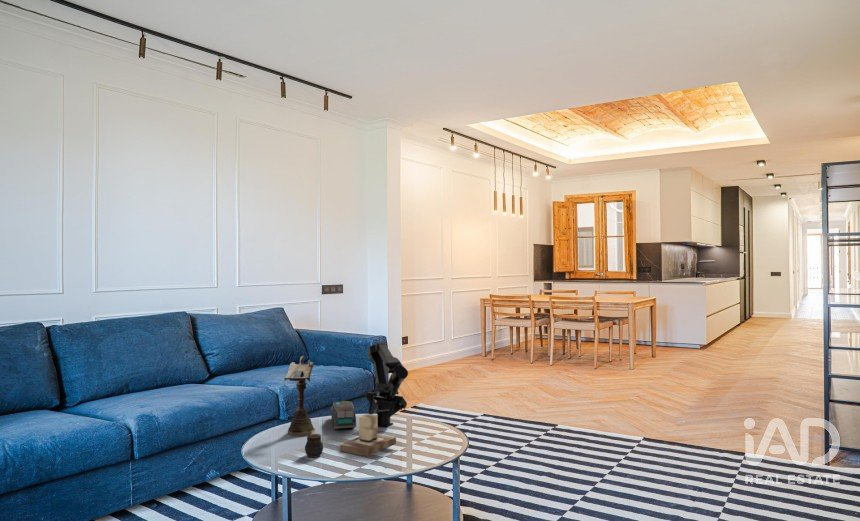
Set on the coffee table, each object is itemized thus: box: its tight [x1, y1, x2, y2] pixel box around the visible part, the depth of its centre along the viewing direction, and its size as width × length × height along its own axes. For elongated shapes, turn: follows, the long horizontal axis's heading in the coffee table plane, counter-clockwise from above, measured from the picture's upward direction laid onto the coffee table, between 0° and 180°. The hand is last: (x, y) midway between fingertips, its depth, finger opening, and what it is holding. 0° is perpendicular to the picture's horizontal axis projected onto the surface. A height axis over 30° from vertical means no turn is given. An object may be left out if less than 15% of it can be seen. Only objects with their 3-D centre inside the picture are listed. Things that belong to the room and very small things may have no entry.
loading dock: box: [339, 433, 397, 457], centre depth 244 cm, size 20×14×3 cm
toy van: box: [330, 400, 357, 430], centre depth 280 cm, size 11×25×10 cm, turn 13°
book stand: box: [282, 355, 316, 437], centre depth 263 cm, size 17×13×35 cm
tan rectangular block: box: [358, 413, 379, 442], centre depth 244 cm, size 6×5×10 cm
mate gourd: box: [304, 430, 324, 458], centre depth 233 cm, size 7×8×10 cm
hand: (378, 416), depth 251 cm, fingers open, 9 cm apart
